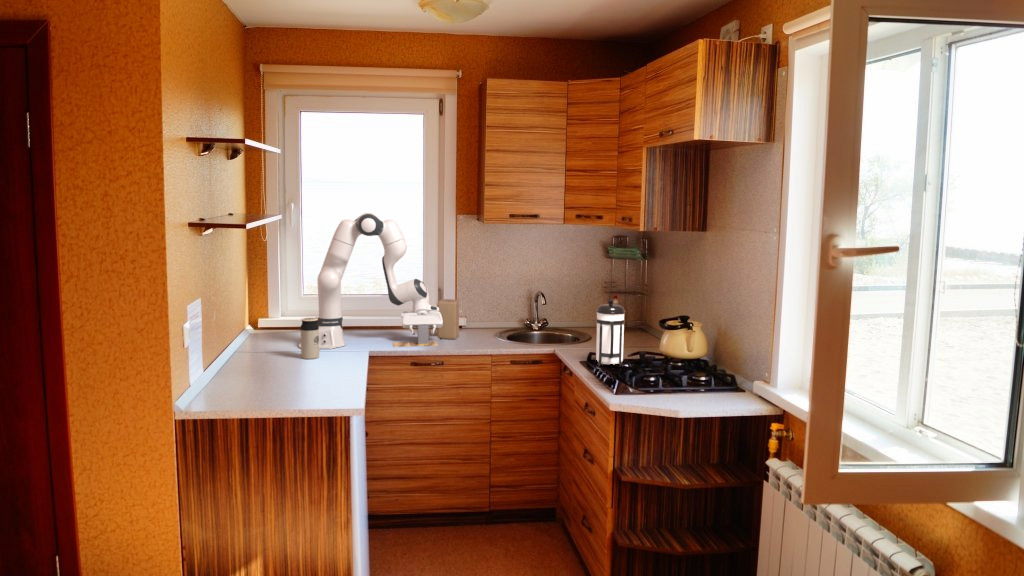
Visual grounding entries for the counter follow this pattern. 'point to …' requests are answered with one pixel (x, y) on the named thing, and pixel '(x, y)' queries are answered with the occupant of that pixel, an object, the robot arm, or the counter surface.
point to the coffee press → (610, 333)
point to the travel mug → (309, 338)
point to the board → (412, 344)
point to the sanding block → (423, 335)
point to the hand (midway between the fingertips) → (423, 333)
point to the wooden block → (449, 318)
